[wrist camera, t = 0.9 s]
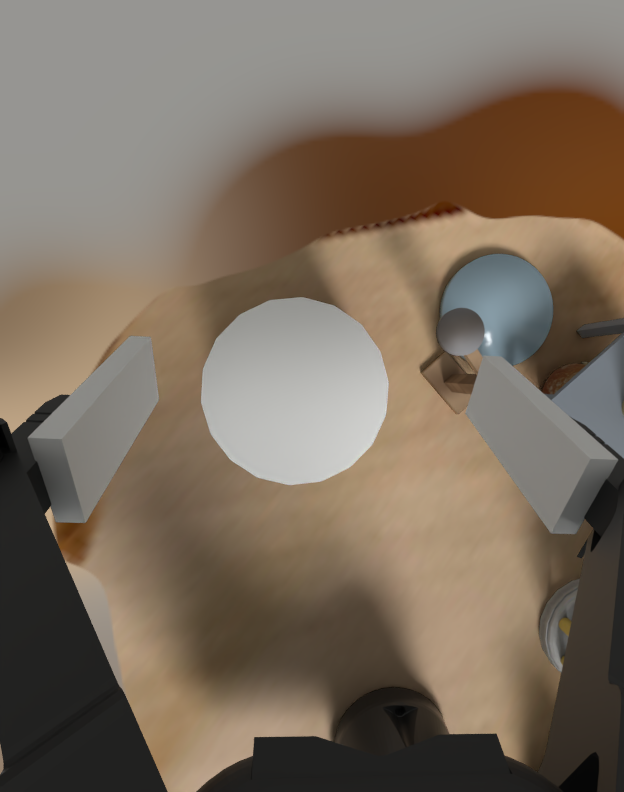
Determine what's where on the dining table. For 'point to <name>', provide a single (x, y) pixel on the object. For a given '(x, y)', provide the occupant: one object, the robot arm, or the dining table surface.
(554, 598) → the lantern
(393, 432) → the dining table surface
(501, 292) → the plate
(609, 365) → the cover frame
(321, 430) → the milk container
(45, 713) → the robot arm
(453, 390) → the balance
